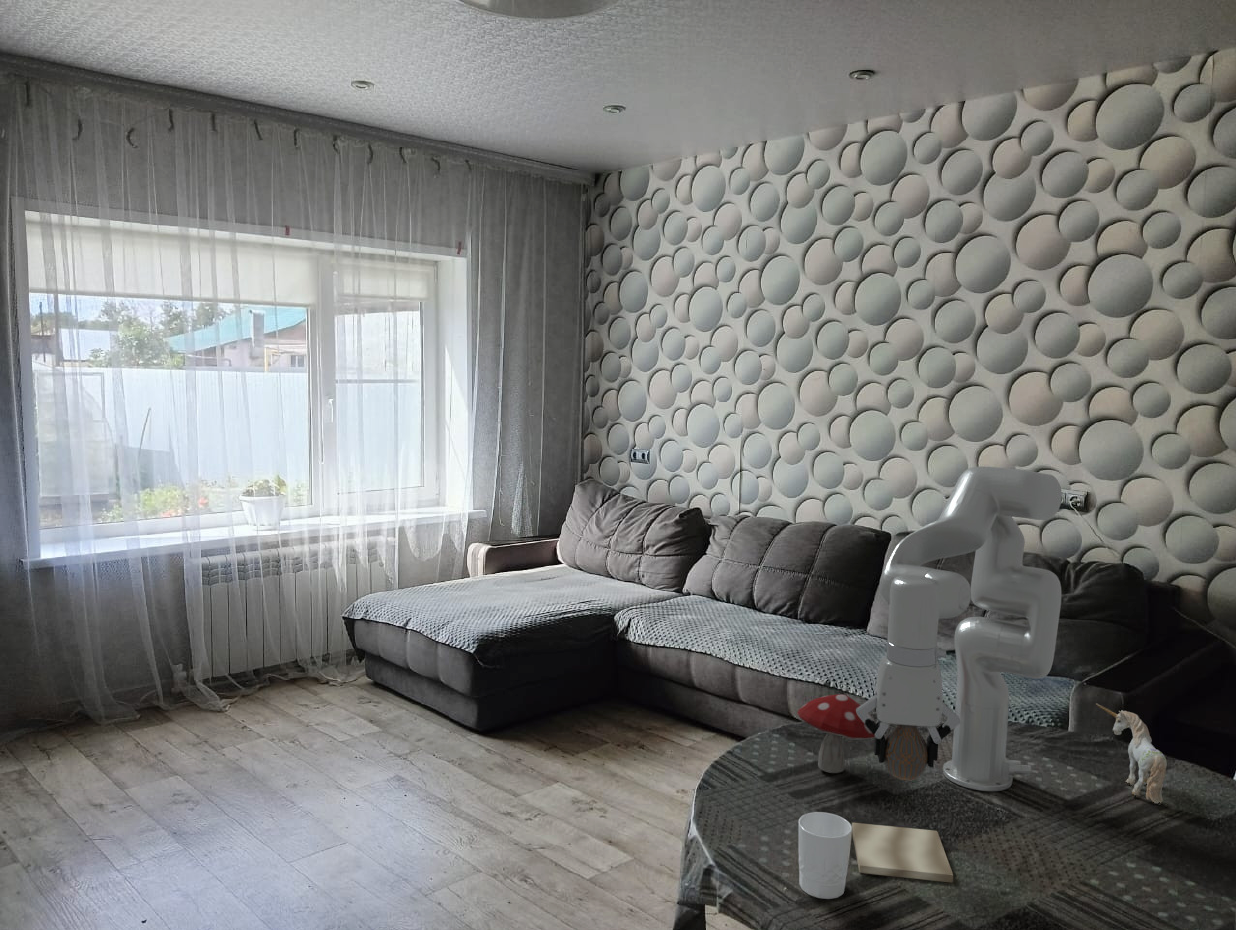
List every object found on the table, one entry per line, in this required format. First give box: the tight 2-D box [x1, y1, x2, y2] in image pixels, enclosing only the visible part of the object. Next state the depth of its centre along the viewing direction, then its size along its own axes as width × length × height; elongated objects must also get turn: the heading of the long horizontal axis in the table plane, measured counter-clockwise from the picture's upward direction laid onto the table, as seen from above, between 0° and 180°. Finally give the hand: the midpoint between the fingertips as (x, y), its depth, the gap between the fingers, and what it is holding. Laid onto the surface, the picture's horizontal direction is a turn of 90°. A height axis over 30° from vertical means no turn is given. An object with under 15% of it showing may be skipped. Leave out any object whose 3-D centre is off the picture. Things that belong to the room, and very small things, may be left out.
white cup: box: [797, 811, 853, 900], centre depth 140 cm, size 8×8×10 cm
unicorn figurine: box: [1095, 703, 1168, 804], centre depth 176 cm, size 7×20×13 cm, turn 4°
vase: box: [883, 725, 928, 781], centre depth 149 cm, size 7×7×9 cm
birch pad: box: [851, 822, 954, 883], centre depth 151 cm, size 14×14×1 cm
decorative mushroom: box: [796, 693, 877, 774], centre depth 182 cm, size 16×16×15 cm
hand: (904, 761), depth 149 cm, fingers closed on vase, 7 cm apart
